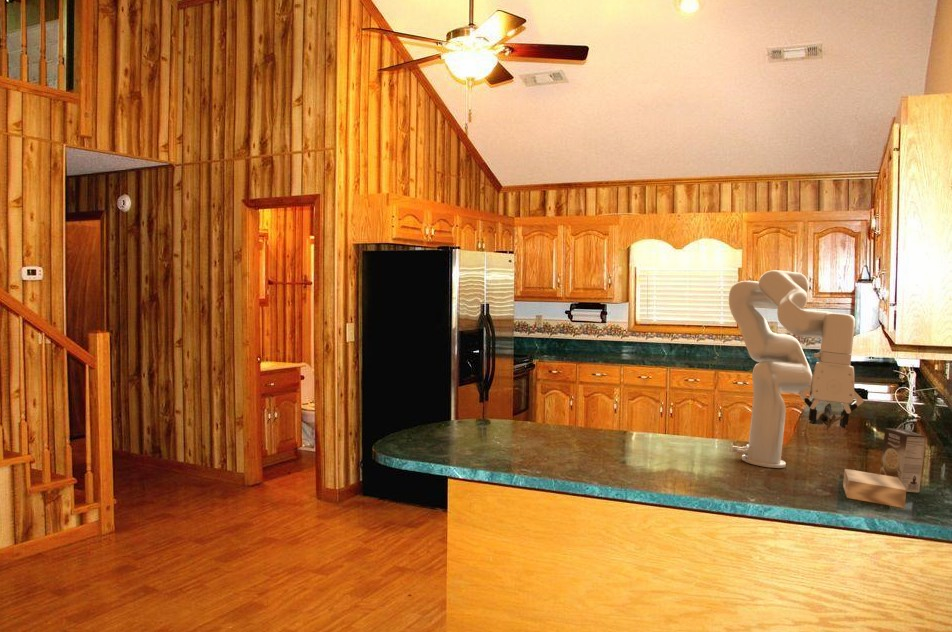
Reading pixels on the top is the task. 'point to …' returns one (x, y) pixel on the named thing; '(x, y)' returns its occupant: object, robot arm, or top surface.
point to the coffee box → (903, 457)
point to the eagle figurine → (826, 417)
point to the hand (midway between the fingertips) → (827, 424)
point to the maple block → (874, 488)
